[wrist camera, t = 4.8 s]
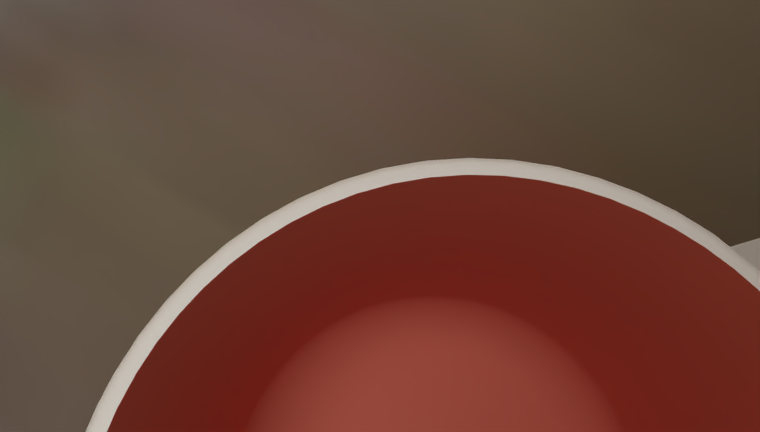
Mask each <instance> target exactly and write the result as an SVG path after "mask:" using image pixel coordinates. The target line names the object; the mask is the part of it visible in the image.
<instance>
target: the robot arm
mask: <svg viewBox="0 0 760 432" xmlns="http://www.w3.org/2000/svg"><path fill="white" fill-rule="evenodd" d="M731 248H732V249H734V250H735V251H736V252H737V253H739V254H740V255H741V256H743V257H744V258H745V259H746V260H748V261H749V262H750V263H752V264H753V265H754V266H755V267H757V268H758V269H759V270H760V238H758V239H755V240H751V241H748V242H745V243H741V244H738V245H735V246H731Z"/></svg>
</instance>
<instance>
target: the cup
mask: <svg viewBox="0 0 760 432" xmlns="http://www.w3.org/2000/svg"><path fill="white" fill-rule="evenodd" d="M86 432H760V270H759V269H758V268H757V267H755V266H754V265H753V264H752V263H750V262H749V261H748V260H746V259H745V258H744V257H743V256H741V255H740V254H739V253H737V252H736V251H735V250H734V249H732V248H731V247H730V246H728V245H727V244H726V243H724V242H723V241H722V240H721V239H719V238H718V237H717V236H715V235H714V234H713V233H711V232H710V231H708V230H706V229H705V228H703V227H702V226H700V225H698V224H697V223H695V222H693V221H692V220H690V219H688V218H687V217H685V216H683V215H682V214H680V213H679V212H677V211H675V210H673V209H671V208H669V207H667V206H665V205H663V204H661V203H659V202H657V201H655V200H653V199H650V198H648V197H646V196H644V195H642V194H640V193H638V192H635V191H633V190H630V189H627V188H625V187H622V186H619V185H617V184H614V183H611V182H609V181H606V180H603V179H601V178H598V177H594V176H590V175H587V174H583V173H579V172H575V171H571V170H568V169H564V168H560V167H556V166H550V165H543V164H537V163H530V162H524V161H517V160H505V159H483V158H460V159H444V160H429V161H421V162H416V163H410V164H404V165H399V166H393V167H387V168H382V169H379V170H375V171H372V172H368V173H365V174H362V175H358V176H355V177H351V178H348V179H345V180H341V181H339V182H336V183H334V184H331V185H329V186H327V187H324V188H322V189H319V190H317V191H315V192H312V193H310V194H307V195H305V196H303V197H300V198H298V199H297V200H295V201H293V202H291V203H289V204H288V205H286V206H284V207H282V208H280V209H278V210H277V211H275V212H273V213H271V214H269V215H268V216H266V217H264V218H262V219H261V220H259V221H258V222H256V223H255V224H254V225H252V226H251V227H249V228H248V229H246V230H245V231H243V232H242V233H241V234H239V235H238V236H236V237H235V238H233V239H232V240H231V241H229V242H228V243H226V244H225V245H224V246H223V247H222V248H221V249H219V250H218V251H217V252H216V253H215V254H214V255H212V256H211V257H210V258H209V259H208V260H207V261H205V262H204V263H203V264H202V265H201V266H200V267H198V268H197V269H196V270H195V271H194V272H193V273H192V274H191V275H190V276H189V277H188V278H187V279H186V280H185V281H184V282H183V283H182V284H181V286H180V287H179V288H178V289H177V290H176V291H175V292H174V293H173V294H172V295H171V296H170V297H169V298H168V299H167V300H166V301H165V302H164V304H163V305H162V306H161V308H160V309H159V310H158V311H157V313H156V314H155V315H154V316H153V318H152V319H151V320H150V321H149V323H148V324H147V325H146V327H145V328H144V329H143V330H142V332H141V333H140V334H139V335H138V337H137V339H136V340H135V342H134V343H133V345H132V346H131V348H130V349H129V351H128V353H127V354H126V356H125V357H124V359H123V360H122V362H121V363H120V365H119V366H118V368H117V370H116V371H115V373H114V374H113V376H112V378H111V380H110V382H109V384H108V386H107V388H106V389H105V391H104V393H103V395H102V397H101V399H100V401H99V403H98V405H97V407H96V409H95V411H94V413H93V416H92V418H91V420H90V423H89V425H88V427H87V429H86Z"/></svg>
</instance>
